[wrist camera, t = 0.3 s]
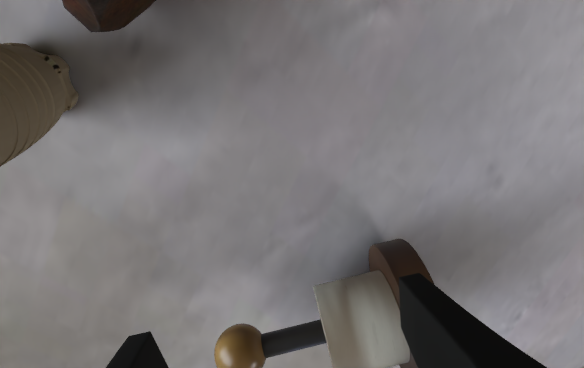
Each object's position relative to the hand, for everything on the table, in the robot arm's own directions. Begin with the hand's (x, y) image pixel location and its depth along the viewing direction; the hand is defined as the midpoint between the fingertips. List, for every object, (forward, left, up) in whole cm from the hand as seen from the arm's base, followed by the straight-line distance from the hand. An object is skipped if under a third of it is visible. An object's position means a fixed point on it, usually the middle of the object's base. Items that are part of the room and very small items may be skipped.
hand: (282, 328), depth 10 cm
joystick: (-8, -1, -10) cm, 12 cm away
